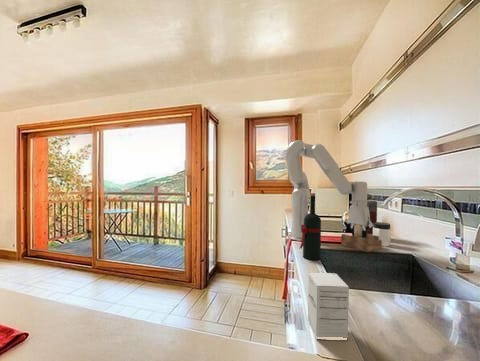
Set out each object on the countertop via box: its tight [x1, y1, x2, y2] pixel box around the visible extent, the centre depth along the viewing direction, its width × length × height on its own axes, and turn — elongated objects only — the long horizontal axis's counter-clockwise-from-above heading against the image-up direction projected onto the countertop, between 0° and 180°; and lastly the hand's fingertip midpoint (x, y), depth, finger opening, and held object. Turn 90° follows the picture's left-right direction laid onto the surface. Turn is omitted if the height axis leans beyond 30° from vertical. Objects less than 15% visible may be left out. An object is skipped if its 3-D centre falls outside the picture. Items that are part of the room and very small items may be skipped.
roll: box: [354, 224, 363, 238], centre depth 128 cm, size 5×5×11 cm
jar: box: [373, 221, 392, 248], centre depth 131 cm, size 9×8×12 cm
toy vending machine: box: [367, 192, 378, 235], centre depth 148 cm, size 9×11×28 cm
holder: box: [340, 233, 383, 253], centre depth 127 cm, size 15×14×6 cm
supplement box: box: [307, 272, 350, 339], centre depth 55 cm, size 7×7×13 cm
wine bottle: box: [299, 192, 322, 262], centre depth 106 cm, size 8×10×30 cm
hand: (359, 236), depth 128 cm, fingers closed on roll, 5 cm apart
